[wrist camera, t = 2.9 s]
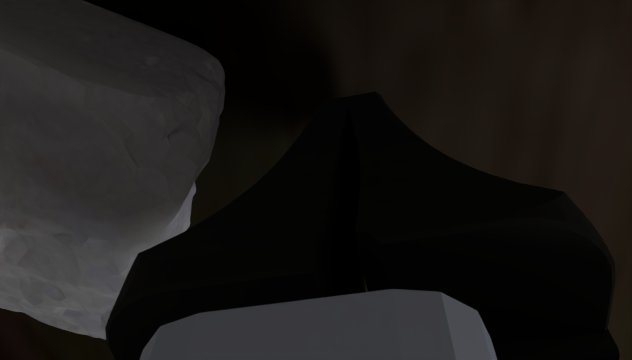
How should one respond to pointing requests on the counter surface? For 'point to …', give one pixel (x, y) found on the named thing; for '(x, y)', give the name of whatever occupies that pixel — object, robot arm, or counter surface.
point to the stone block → (94, 152)
